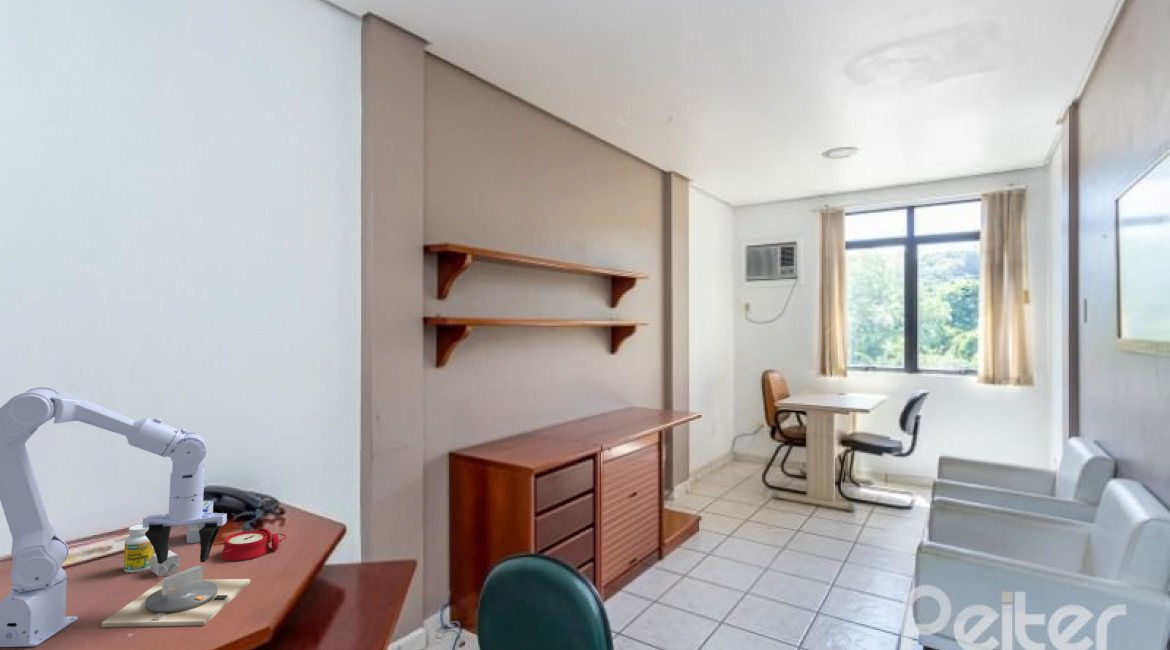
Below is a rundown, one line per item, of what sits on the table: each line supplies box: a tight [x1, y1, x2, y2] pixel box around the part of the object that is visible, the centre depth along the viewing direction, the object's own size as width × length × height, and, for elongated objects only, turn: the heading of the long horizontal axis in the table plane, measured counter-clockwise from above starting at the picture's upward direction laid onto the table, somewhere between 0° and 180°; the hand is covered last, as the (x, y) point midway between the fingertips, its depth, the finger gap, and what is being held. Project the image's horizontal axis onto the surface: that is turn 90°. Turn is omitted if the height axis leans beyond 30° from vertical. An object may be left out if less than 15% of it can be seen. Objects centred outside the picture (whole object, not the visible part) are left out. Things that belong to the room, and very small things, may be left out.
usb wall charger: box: [149, 549, 180, 577], centre depth 128 cm, size 4×7×4 cm, turn 55°
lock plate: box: [100, 578, 251, 628], centre depth 115 cm, size 18×18×1 cm
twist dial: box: [145, 565, 218, 613], centre depth 115 cm, size 12×12×5 cm
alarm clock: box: [212, 528, 287, 562], centre depth 142 cm, size 10×6×15 cm
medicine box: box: [186, 500, 214, 545], centre depth 149 cm, size 8×4×9 cm, turn 25°
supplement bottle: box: [123, 523, 155, 574], centre depth 130 cm, size 5×5×10 cm
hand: (183, 561), depth 115 cm, fingers open, 7 cm apart
